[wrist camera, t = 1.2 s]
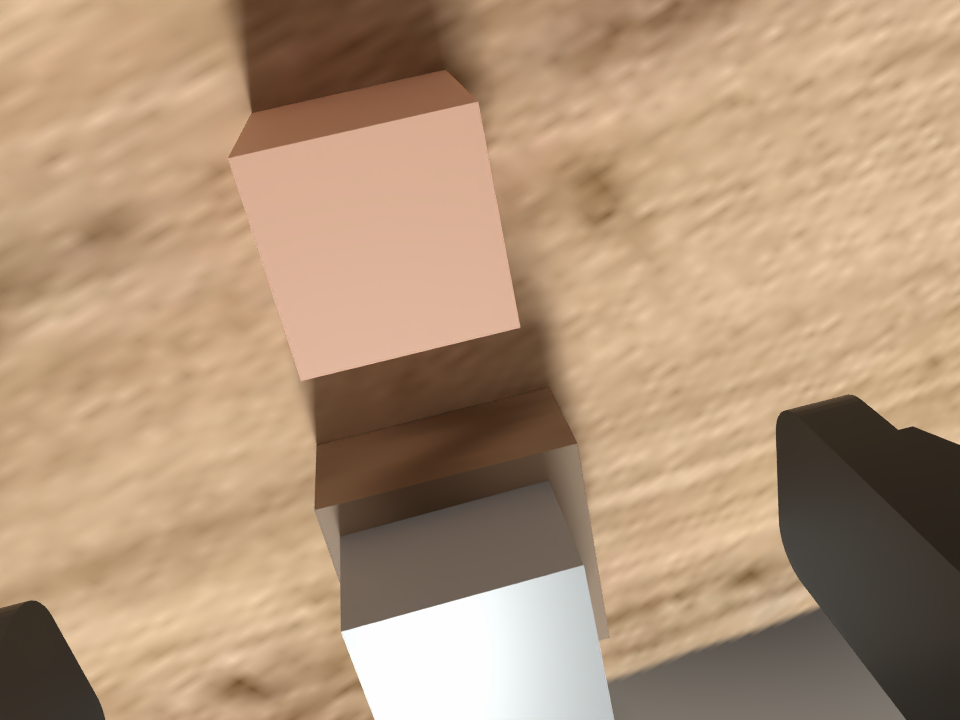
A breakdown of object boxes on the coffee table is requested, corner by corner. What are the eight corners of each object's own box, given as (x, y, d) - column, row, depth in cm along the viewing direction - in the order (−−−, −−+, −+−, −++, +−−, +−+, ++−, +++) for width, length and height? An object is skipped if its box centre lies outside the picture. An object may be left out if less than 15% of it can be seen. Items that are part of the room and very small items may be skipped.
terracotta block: (445, 69, 24) (478, 101, 18) (481, 252, 26) (520, 327, 21) (252, 112, 23) (227, 158, 18) (307, 293, 26) (300, 381, 20)
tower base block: (546, 383, 29) (577, 443, 25) (579, 562, 32) (609, 637, 29) (317, 440, 28) (314, 510, 25) (375, 615, 32) (380, 698, 28)
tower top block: (548, 480, 26) (583, 565, 22) (580, 635, 28) (616, 732, 25) (339, 536, 25) (340, 631, 22) (394, 687, 28) (403, 793, 25)
